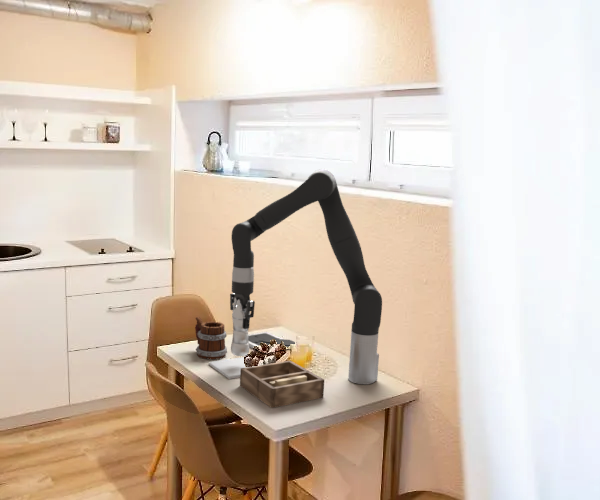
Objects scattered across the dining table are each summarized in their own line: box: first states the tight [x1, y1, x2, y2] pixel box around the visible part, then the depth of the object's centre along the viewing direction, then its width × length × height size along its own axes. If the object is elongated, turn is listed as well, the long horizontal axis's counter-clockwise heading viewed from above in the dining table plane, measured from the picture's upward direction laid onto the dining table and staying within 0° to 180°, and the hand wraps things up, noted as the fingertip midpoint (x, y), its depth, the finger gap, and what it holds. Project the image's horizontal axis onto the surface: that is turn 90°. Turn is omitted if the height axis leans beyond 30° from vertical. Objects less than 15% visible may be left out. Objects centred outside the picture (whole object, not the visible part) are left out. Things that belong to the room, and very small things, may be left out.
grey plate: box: [208, 356, 246, 380], centre depth 229 cm, size 16×16×1 cm
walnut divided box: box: [239, 360, 325, 409], centre depth 209 cm, size 19×20×6 cm
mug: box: [194, 316, 228, 361], centre depth 242 cm, size 12×14×15 cm
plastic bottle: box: [230, 300, 250, 357], centre depth 227 cm, size 6×7×20 cm
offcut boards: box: [269, 375, 307, 387], centre depth 204 cm, size 14×5×6 cm, turn 123°
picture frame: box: [248, 331, 295, 349], centre depth 259 cm, size 16×3×21 cm
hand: (241, 325), depth 227 cm, fingers closed on plastic bottle, 6 cm apart
